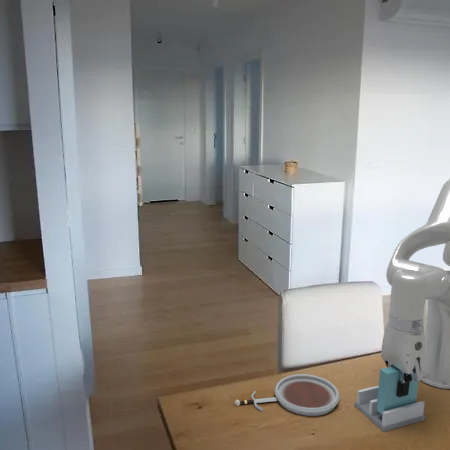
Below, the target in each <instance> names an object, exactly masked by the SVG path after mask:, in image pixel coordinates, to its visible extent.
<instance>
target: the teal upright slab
mask: <svg viewBox="0 0 450 450" xmlns="http://www.w3.org/2000/svg"><path fill="white" fill-rule="evenodd" d="M406 376H407V374H406ZM398 381H400V369H398V368H397V367H395V366H392V367H387V366H386V367H384V368H379V378H378V385H379V387H378V398H377V409H376V410H377V411H378V412H379V413H381V414H382V415H383V412H384V411H388V410H392V409H395V408H399V407H403V406H406V405H410V404H414V403H417V396H418V388H419V381H411V382H410V384H409V393H408V395H407V396H403V397H397V385H398Z"/></svg>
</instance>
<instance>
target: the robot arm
mask: <svg viewBox="0 0 450 450" xmlns="http://www.w3.org/2000/svg"><path fill="white" fill-rule="evenodd" d="M440 245H444V249H443V252H442V261H443V262H444V264H445V265H447V266H449V267H450V178H449V179H448V180H446V181H445V183H444V184H443V185H442V187H441V190H440V191H439V194H438V197H437V199H436V201H435V203H434V205H433V208H432V210H431V212H430V215H429V217H428V219H427V222H426V223H425V224H424V225H422V226H420V227H418V228H417V229H415V230H414V231H412V232H411V233H409V234H408V235H407V236H405V237H404V238H403V239H401V241H400V242H399V243H398V244H397V245H396V247H395V249H394V252H393V253H392V256H391V258H390V261H389V263H388V266H387V269H386V274H385V276H386V282H388V284H389V285H390V286H391V290H390V302H389V310H388V319H387V322H386V325H385V327H384V331H383V337H382V342H381V343H382V345H381V354H380V358H382V360H383V362H384V363H385V366H386V368H387V367H392V366H395V367H397V368H398V369H400V381H398V385H397V397H403V396H407V395H408V393H409V384H410V382H411V381H418V382H419V381H421V382H423V383H425V384H427V385H429V386H432V387H435V388H438V389H447V390H449V389H450V270H445V269H443V268H441V267H439V266H434V265H431V264H426V263H421V262H417V261H413V260H410V259H411V257H412V256H414V254H416V253H417V252H419V251H421V250H423V249H426V248H431V247H436V246H440ZM426 301H427V311H426V312H427V314H426V322H425V328H424V326H423V322H424V321H423V320H424V312H425V311H424V310H425V304H426V303H425V302H426ZM424 330H425V331H424ZM423 331H424V332H423ZM406 374H407V376H406Z"/></svg>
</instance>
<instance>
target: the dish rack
mask: <svg viewBox="0 0 450 450" xmlns="http://www.w3.org/2000/svg"><path fill="white" fill-rule="evenodd" d="M378 387H379V384H378V385H375V386H372V387H371V386H370V387H367V388H363V389H362V388H361V389H359V390H357V394H356V395H357V396H356V401H355V402H354V407H355V408H356V409H358V410H359V411H360V412H361V413H362V414H363V415H365V416H366V418H367V419H369V420H370V421H371V422H372V423H374V425H376V426H377V428H379V429H380V430H381V431H382V432H383V433H384V432H388V431H391V430H395V429H398V428H401V427H405V426H408V425H411V424H416V423H418V422H422V421H425V420H426V415H424V411H425V403H426V402H424V401H422V400H421V401H418V402H417V401H416V403H414V404H410V405H406V406H403V407H399V408H395V409H392V410H388V411H384V412H383V415H382V414H381V413H379V412H378V411H377V410H376V409H377V398H378Z"/></svg>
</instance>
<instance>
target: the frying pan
mask: <svg viewBox="0 0 450 450" xmlns="http://www.w3.org/2000/svg"><path fill="white" fill-rule="evenodd" d="M256 393H257V391H256V390H254V391H253V393H252V394H251V399H245V400H239V399H236V400H235V401H234V405H235V406H236V407H239V406H240V405H247V404H253V405H254V408H255V409H257V410H258V411H261V412H262V413H264V412H263V411H264V408H262V407H261V406H259V405H258V403H259V404H260V403H269V402H278V403H279V404H280V405H281V406H282V407H283V408H284V409H286V410H287V411H289V412H292V413H295V414H297V415H301V416H307V417H308V416H309V417H316V416H317V417H318V416H323V415H326V414H329V413H330V412H332V411H333V410H334V409H335V407H336V406H337V405H338V403H339V402H340V395H341V394H340V393H339V390H338V389H337V387H336V386H335V385H334V384H333V383H332V382H331V381H329V380H327V379H325V378H324V377H321V376H317V375H314V374H308V373H300V374H299V373H296V374H291V375H288V376H286V377H283V378H281V379H280V380H279V381H278V382H277V383H276V385H275V388H274V395H275V397H265V398H255V395H256Z"/></svg>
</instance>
